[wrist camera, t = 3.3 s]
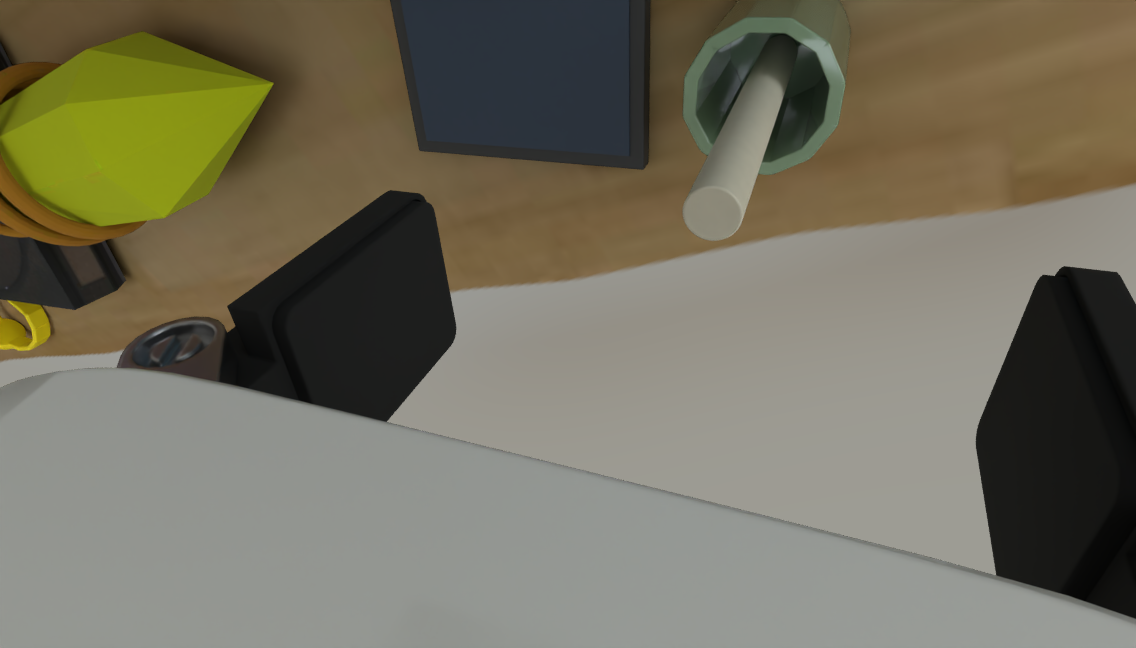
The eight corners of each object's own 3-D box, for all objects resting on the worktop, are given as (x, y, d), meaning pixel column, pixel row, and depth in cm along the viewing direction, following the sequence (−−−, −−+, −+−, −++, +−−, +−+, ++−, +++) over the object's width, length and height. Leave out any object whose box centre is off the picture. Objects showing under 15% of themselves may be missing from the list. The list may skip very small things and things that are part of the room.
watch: (33, 329, 52) (20, 369, 55) (65, 312, 55) (50, 352, 58) (-33, 278, 51) (-43, 322, 55) (2, 263, 54) (-9, 306, 57)
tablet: (427, 145, 32) (417, 152, 31) (392, -42, 27) (380, -39, 27) (648, 163, 29) (643, 171, 28) (651, -48, 24) (645, -45, 23)
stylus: (763, 63, 24) (680, 238, 14) (767, 27, 24) (683, 183, 13) (797, 64, 24) (739, 245, 13) (802, 28, 23) (745, 189, 13)
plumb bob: (254, -59, 30) (-67, 93, 39) (132, 25, 23) (-216, 182, 32) (366, 119, 35) (64, 215, 44) (292, 223, 29) (-40, 310, 38)
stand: (718, 100, 26) (679, 168, 21) (727, -24, 24) (686, 16, 18) (837, 106, 25) (828, 180, 19) (860, -26, 22) (857, 18, 17)
